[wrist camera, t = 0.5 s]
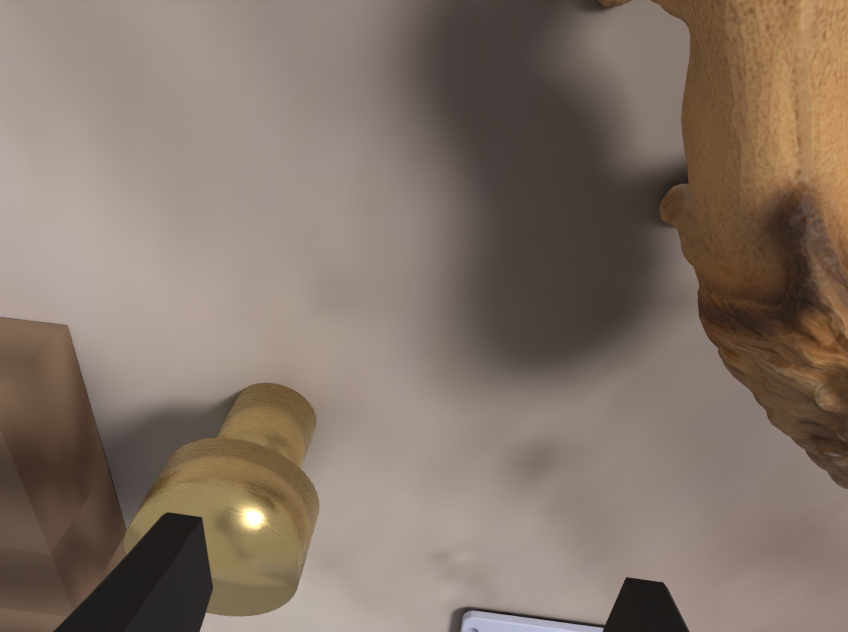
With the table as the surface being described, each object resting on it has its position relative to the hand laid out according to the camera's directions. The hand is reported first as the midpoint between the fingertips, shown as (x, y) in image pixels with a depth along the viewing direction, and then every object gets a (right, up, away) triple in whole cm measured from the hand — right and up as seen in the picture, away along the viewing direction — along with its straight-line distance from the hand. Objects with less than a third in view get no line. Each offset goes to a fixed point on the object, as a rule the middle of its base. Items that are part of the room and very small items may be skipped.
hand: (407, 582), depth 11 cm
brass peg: (-5, +1, +12) cm, 13 cm away
